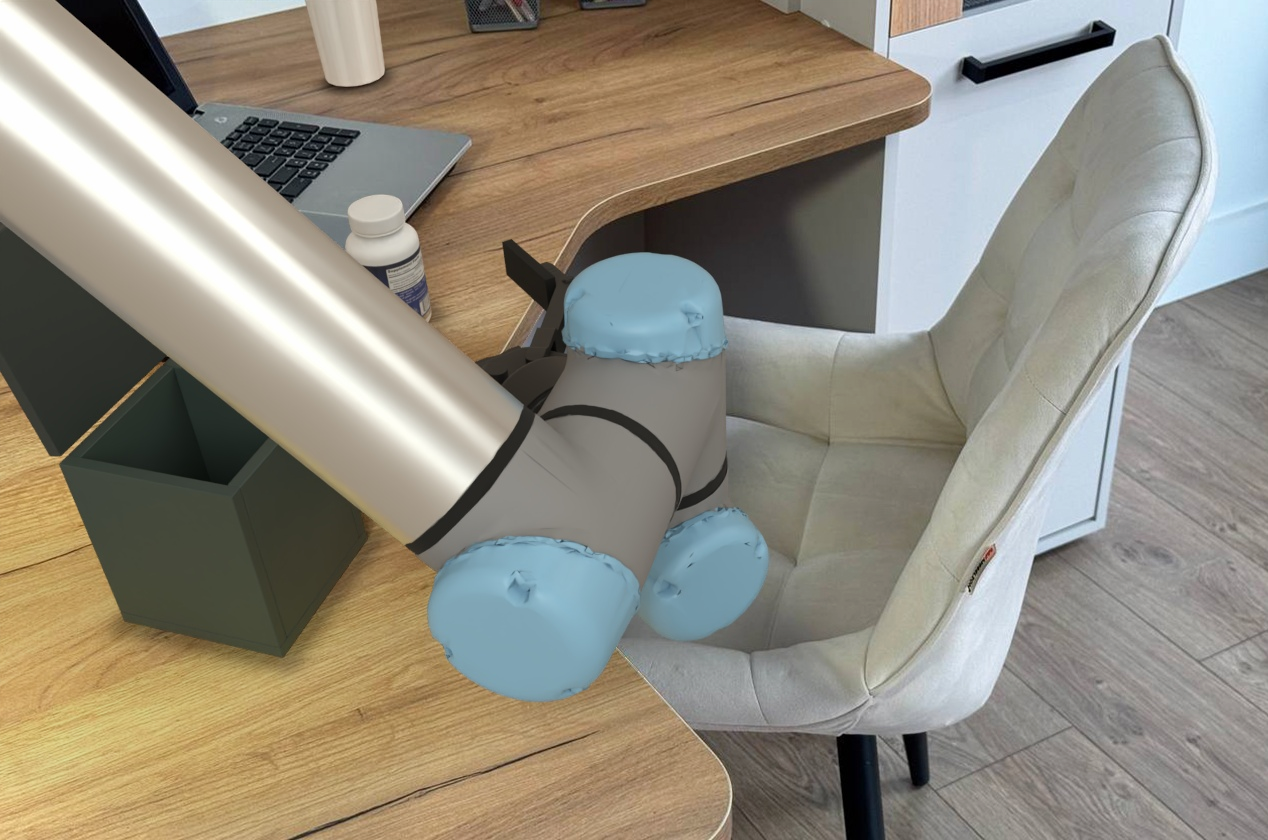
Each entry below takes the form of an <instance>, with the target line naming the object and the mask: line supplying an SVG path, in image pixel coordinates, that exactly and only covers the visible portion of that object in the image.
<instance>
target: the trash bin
mask: <svg viewBox="0 0 1268 840" xmlns="http://www.w3.org/2000/svg"><path fill="white" fill-rule="evenodd" d="M58 466H59V468H60V471H61V473H62V476H63V477H64V480H65V483H66V485H67V488H68V491H69V493H70V495H71V497H72V499H73V502H74V504H75V506H76V509H77V512H78V514H79V516H80V519H81V521H82V523H83V526H84V529H85V531H86V533H87V535H88V538H89V540H90V542H91V545H92V547H93V550H94V552H95V554H96V556H97V559H98V562H99V564H100V567H101V569H102V571H103V574H104V576H105V579H106V581H107V583H108V585H109V588H110V590H111V593H112V595H113V598H114V600H115V602H116V605H117V608H118V609H119V612H120V614H121V617H122V620H123V621H124V622H126V623H130V624H135V625H138V626H143V627H148V628H151V629H152V628H153V629H156V630H161V631H164V632H170V633H173V634H178V635H182V636H186V637H191V638H196V639H200V640H203V641H207V642H208V641H209V642H213V643H217V644H222V645H226V646H230V647H235V648H238V649H243V650H246V651H247V650H248V651H252V652H256V653H260V654H265V655H270V656H273V657H278V658H284V657H285V656H286V654H287V653H288V651H289V650H290V649H291V648H292V646H293V645H294V643H295V642H296V640H297V639H298V637H299V636H300V635H301V633H302V632H303V630H304V629H305V628H306V627H307V625H308V624H309V622H310V620H311V619H312V618H313V616H314V615H315V613H316V612H317V611H318V609H319V608H320V607H321V606H322V604H323V602H324V601H325V600H326V598H327V596H329V594H330V593H331V591H332V590H333V588H334V587H335V585H337V582H339V580H340V579H341V577H342V576H343V574H344V573H345V571H347V568H348V567H349V566H350V565H351V563H352V561H353V560H354V559H355V558H356V556H357V555H358V554H359V552H360V550H361V549H362V548H363V546H364V545H365V543H366V542H367V540H368V534H367V530H366V528H365V523H364V519H363V515H362V511H361V510H359V509H358V508H357V507H356V506H354V505H353V504H352V503H351V502H349V501H348V500H347V499H346V498H344V497H343V496H342V495H341V494H339V493H338V492H337V491H336V490H334V489H333V488H332V487H331V486H329V485H328V484H327V483H326V482H325V481H323V480H322V479H321V478H320V477H318V476H317V475H316V474H315V473H313V472H312V471H311V470H310V469H308V468H307V467H306V466H305V465H303V464H302V463H301V462H300V461H298V460H297V459H296V458H295V457H293V456H292V455H291V454H290V453H288V452H287V451H286V450H285V449H283V448H282V447H281V446H280V445H278V444H277V443H276V442H275V441H273V440H272V439H271V438H270V437H268V436H267V435H266V434H265V433H263V432H262V431H261V430H260V429H258V428H257V427H256V426H255V425H253V424H252V423H251V422H250V421H248V420H247V419H246V418H245V417H243V416H242V415H241V414H240V413H238V412H237V411H236V410H235V409H233V408H232V407H231V406H230V405H228V404H227V403H226V402H225V401H223V400H222V399H221V398H220V397H218V396H217V395H216V394H215V393H213V392H212V391H211V390H210V389H208V388H207V387H206V386H205V385H203V384H202V383H201V382H200V381H198V380H197V379H196V378H195V377H193V376H192V375H191V374H190V373H188V372H187V371H186V370H185V369H183V368H182V367H181V366H180V365H178V364H177V363H176V362H175V361H173V360H172V359H171V358H170V357H168V359H167V360H166V361H164V363H163V364H162V365H160V366H159V367H158V368H157V369H156V370H155V371H154V372H153V373H152V374H151V375H150V376H149V377H148V378H147V379H146V380H145V381H144V382H142V383H141V384H140V385H139V386H138V387H137V388H136V390H134V391H133V392H132V393H131V394H130V395H129V396H127V398H126V399H125V400H124V401H123V402H121V404H120V405H118V406H117V407H116V408H115V410H113V411H112V412H111V413H110V414H109V415H108V416H107V417H106V418H105V419H104V420H103V421H102V422H100V423H99V424H98V426H96V427H95V428H94V429H93V430H92V431H91V432H90V433H89V434H88V435H87V436H86V437H85V438H84V439H83V440H82V441H81V442H80V443H79V444H77V446H76V447H75V448H73V450H72V451H70V452H69V453H68V455H66V456H65V458H63V459H62V460H61V461H60V462H59V463H58Z"/></svg>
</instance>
